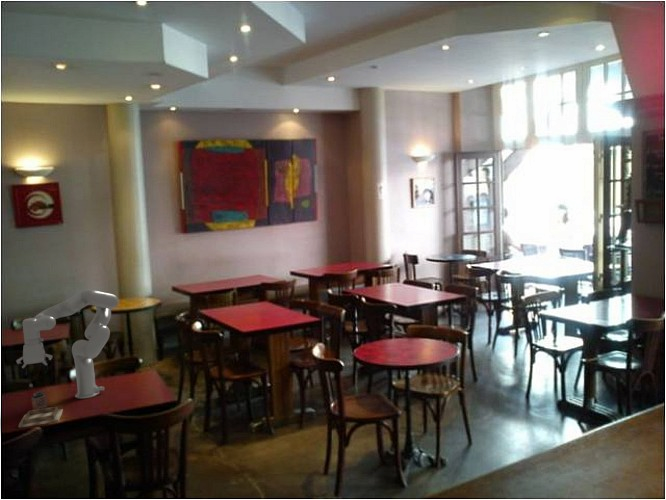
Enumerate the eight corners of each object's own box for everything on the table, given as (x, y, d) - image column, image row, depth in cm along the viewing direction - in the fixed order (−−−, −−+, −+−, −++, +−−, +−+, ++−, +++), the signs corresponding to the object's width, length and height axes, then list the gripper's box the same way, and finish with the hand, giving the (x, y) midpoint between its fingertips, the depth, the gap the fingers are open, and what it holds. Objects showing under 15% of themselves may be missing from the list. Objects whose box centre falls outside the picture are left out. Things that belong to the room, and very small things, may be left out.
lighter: (35, 413, 318) (33, 394, 317) (31, 412, 320) (29, 393, 319) (49, 408, 325) (47, 389, 324) (45, 407, 326) (43, 389, 326)
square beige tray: (62, 411, 318) (62, 405, 318) (58, 421, 303) (57, 415, 302) (25, 416, 313) (24, 410, 313) (18, 427, 298) (18, 421, 297)
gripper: (51, 338, 325) (54, 369, 326) (15, 342, 320) (19, 374, 321) (49, 341, 318) (52, 373, 319) (12, 345, 313) (16, 377, 314)
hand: (36, 373), depth 320 cm, fingers open, 9 cm apart
